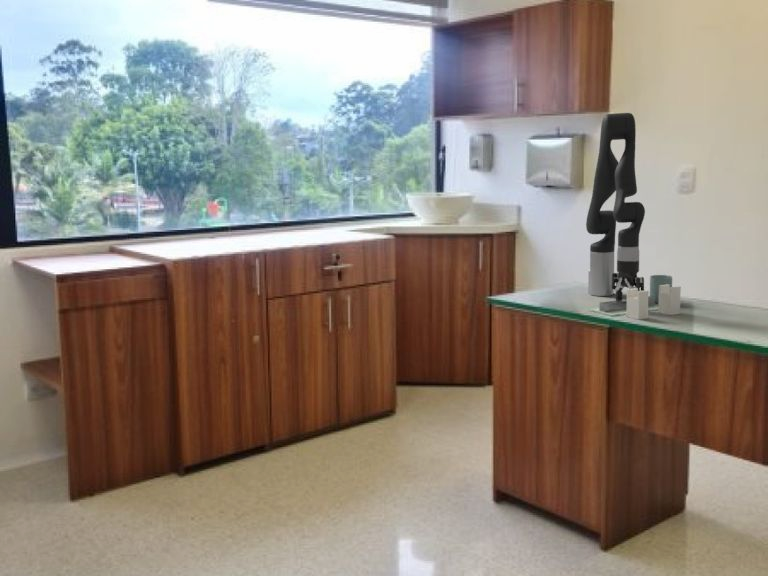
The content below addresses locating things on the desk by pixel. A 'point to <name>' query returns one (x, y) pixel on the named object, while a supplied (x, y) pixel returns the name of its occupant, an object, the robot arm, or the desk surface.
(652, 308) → the mat
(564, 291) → the desk surface
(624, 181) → the robot arm
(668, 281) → the cup
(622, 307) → the bar
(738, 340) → the desk surface
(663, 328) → the desk surface
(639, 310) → the rack
